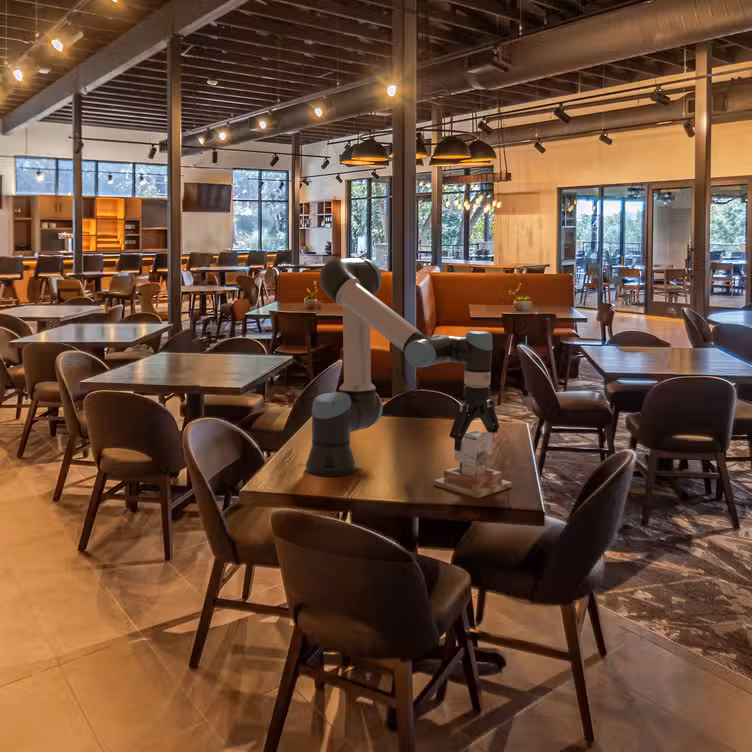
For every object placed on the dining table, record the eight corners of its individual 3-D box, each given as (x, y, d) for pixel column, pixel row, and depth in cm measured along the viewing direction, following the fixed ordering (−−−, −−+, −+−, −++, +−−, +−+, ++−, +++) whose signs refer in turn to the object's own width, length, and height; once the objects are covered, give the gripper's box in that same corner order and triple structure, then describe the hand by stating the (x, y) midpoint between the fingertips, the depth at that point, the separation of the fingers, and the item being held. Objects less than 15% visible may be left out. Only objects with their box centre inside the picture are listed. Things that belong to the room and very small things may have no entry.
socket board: (476, 498, 222) (477, 482, 222) (433, 485, 233) (434, 470, 233) (511, 487, 233) (511, 472, 233) (468, 475, 245) (469, 460, 244)
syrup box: (469, 477, 237) (471, 429, 235) (486, 481, 233) (488, 432, 231) (458, 481, 233) (460, 432, 231) (475, 485, 229) (477, 436, 227)
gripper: (459, 392, 217) (456, 467, 221) (513, 382, 235) (509, 453, 238) (438, 388, 223) (435, 462, 226) (493, 379, 240) (489, 448, 243)
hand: (473, 457), depth 232 cm, fingers open, 13 cm apart
